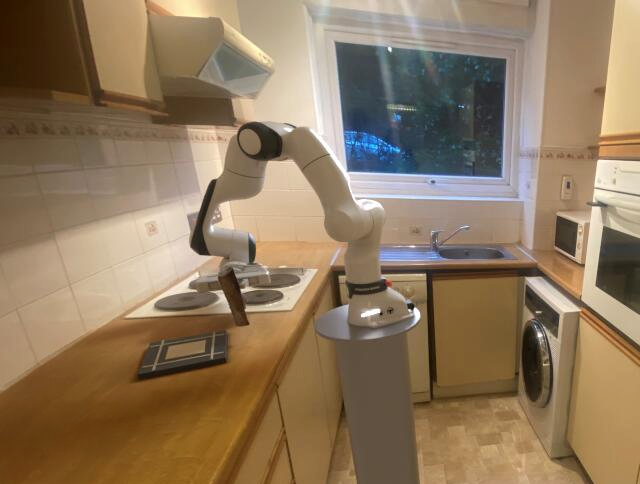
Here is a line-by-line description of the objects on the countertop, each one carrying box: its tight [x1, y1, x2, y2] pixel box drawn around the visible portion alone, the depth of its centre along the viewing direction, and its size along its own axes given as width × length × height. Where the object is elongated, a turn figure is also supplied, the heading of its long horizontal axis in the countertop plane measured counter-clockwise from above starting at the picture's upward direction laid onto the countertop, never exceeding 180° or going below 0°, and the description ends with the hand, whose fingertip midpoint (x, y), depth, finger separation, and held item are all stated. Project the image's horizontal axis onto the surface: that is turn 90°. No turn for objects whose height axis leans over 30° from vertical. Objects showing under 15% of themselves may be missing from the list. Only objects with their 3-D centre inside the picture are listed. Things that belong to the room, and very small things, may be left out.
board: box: [137, 329, 229, 380], centre depth 116 cm, size 18×20×2 cm
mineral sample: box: [218, 265, 250, 327], centre depth 127 cm, size 17×4×15 cm, turn 30°
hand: (234, 287), depth 132 cm, fingers closed on mineral sample, 3 cm apart
